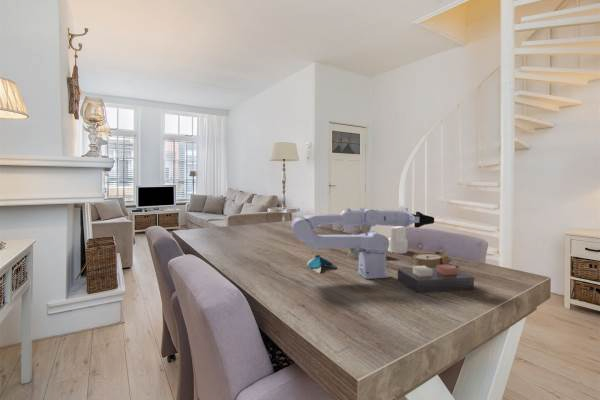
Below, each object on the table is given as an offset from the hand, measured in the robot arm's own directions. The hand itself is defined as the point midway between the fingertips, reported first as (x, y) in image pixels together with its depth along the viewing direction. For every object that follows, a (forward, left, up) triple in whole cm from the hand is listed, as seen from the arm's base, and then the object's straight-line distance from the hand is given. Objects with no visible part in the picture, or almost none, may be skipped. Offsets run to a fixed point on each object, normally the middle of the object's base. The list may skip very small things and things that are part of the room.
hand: (427, 219), depth 112 cm
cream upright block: (+7, +34, -21) cm, 41 cm away
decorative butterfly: (-38, +14, -21) cm, 45 cm away
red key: (0, -12, -17) cm, 21 cm away
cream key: (-9, -12, -17) cm, 23 cm away
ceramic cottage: (-12, +28, -21) cm, 37 cm away
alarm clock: (+10, +12, -21) cm, 26 cm away
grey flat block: (-5, -12, -20) cm, 24 cm away
